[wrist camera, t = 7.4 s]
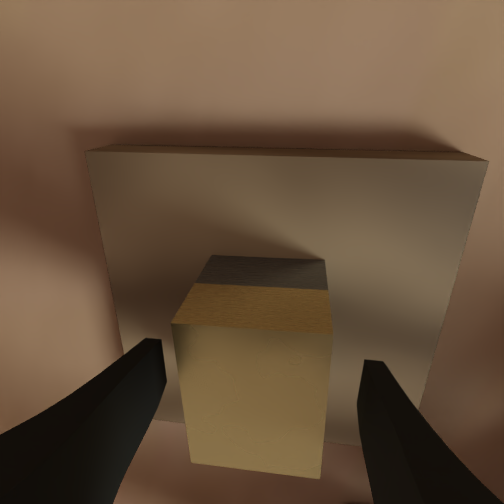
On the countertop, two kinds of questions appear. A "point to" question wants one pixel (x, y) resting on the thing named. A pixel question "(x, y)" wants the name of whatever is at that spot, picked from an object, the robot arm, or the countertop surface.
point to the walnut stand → (292, 245)
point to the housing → (256, 364)
